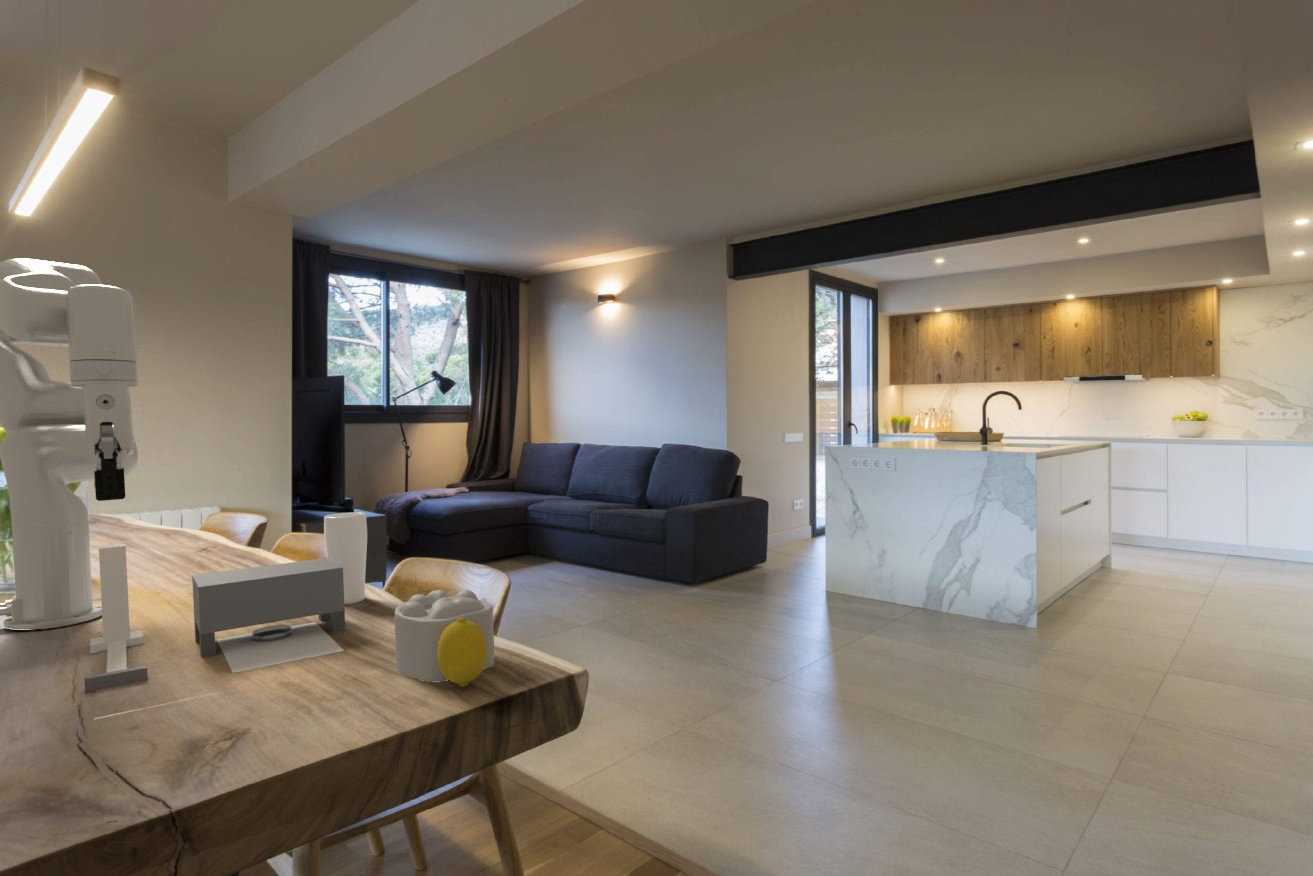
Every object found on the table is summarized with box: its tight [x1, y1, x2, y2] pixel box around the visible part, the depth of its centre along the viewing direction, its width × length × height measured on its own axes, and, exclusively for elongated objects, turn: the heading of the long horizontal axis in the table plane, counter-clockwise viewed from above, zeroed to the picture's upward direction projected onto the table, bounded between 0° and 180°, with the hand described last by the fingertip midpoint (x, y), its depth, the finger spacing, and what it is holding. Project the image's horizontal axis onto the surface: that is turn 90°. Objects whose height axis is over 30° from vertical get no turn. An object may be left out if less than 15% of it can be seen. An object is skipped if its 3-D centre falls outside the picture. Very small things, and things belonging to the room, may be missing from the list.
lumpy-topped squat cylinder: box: [393, 589, 496, 681], centre depth 92 cm, size 10×13×9 cm
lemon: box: [437, 618, 487, 688], centre depth 84 cm, size 6×6×8 cm
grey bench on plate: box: [192, 557, 346, 658], centre depth 106 cm, size 18×10×10 cm, turn 126°
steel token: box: [251, 624, 292, 642], centre depth 105 cm, size 5×5×1 cm
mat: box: [216, 622, 345, 674], centre depth 101 cm, size 13×18×1 cm
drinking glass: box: [323, 511, 368, 605], centre depth 125 cm, size 7×7×15 cm
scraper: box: [83, 542, 149, 694], centre depth 96 cm, size 6×23×14 cm, turn 36°
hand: (111, 497), depth 103 cm, fingers open, 9 cm apart
